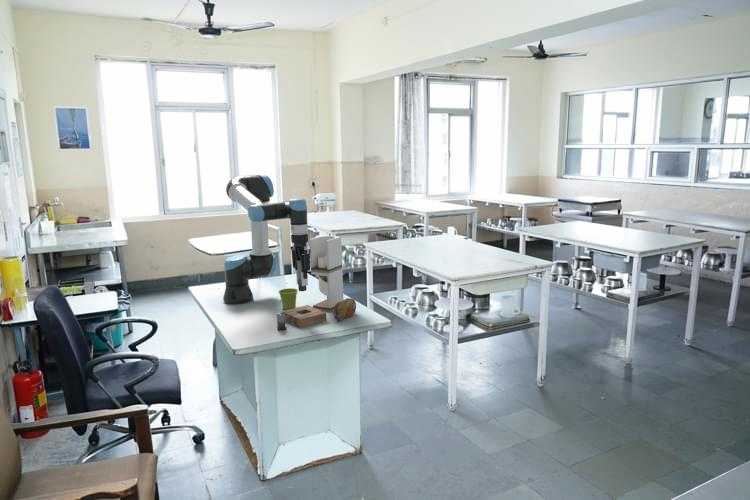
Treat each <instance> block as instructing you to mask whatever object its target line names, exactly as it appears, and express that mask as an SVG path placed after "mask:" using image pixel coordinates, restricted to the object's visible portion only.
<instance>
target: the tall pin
mask: <svg viewBox="0 0 750 500" xmlns="http://www.w3.org/2000/svg"><path fill="white" fill-rule="evenodd" d="M297 271H298V284H297V286H298V287H297V290H298V291H299V292H305V291H307V289H308V288H307V285H306V286H302V279H301V271H302V266H301V260H300V259H299V260H297Z"/></svg>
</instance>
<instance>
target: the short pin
mask: <svg viewBox="0 0 750 500" xmlns="http://www.w3.org/2000/svg"><path fill="white" fill-rule="evenodd" d="M276 329H277V331H278V332H284V331H286V329H287V327H286V321H285V313H282V312H279V313H276Z"/></svg>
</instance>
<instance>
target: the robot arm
mask: <svg viewBox="0 0 750 500" xmlns="http://www.w3.org/2000/svg"><path fill="white" fill-rule="evenodd" d="M274 191H275V190H274V185H273V182H272V179H271V178H270V177H269V176H268V175H266V174H252V175H238V176H235V177H233V178H232V179H230V180H229V181H228V183H227V184H226V188H225V192H226V196H227V197H228V198H229V199H230V201H233V202H235V203H237V204H239V205H240V206H242V208H244V209H245V210H246V211H247V215H248V218H249V221H250V230H251V250H250V251H249V256H247V255H246V254H236V255H233V256H229V257H227V258H226V259H225V260H224V262H223V270H224V282H225V290H224V294H223V298H222V299H223V303H224V304H227V305H240V304H246V303H250V302H252V301H253V300H254V295H253V294H254V293H253V292H252V290H251V287H250V285H249V283H250V282H249V280H251V279H258V278H267V277H269V276H272V275H274V274H275V272H276V270H277V257H276V255H275V254H273V251H272V250H271V249H270V248H269V225H268V224H269V223H268V222H269V221H275V220H284V219H285V220H287V219H289V223H290V233H291V235H290V241H291V243H292V244H293V245H292V246H290V253H291V259H292V260H291V262H292V268H293V269H295V273H296V274H295V275H296V284H297V285H298V271H297V260H299V259H300V260H301V266H302V271H301V279H302V286H306V287H307V286H308V285H309V282H308V281H309V279H308V277H309V276H308V272H310V271H311V262H310V252H311V250H310V248H308V246H307V243H309V234H308V233H309V227H308V226H309V225H308V206H307V200H306V199H305V198H290V199H289V201H288V200H287V201H281V202H271V200H270V198H272V197H273V196H274V194H275V193H274ZM270 202H271V203H270Z"/></svg>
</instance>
